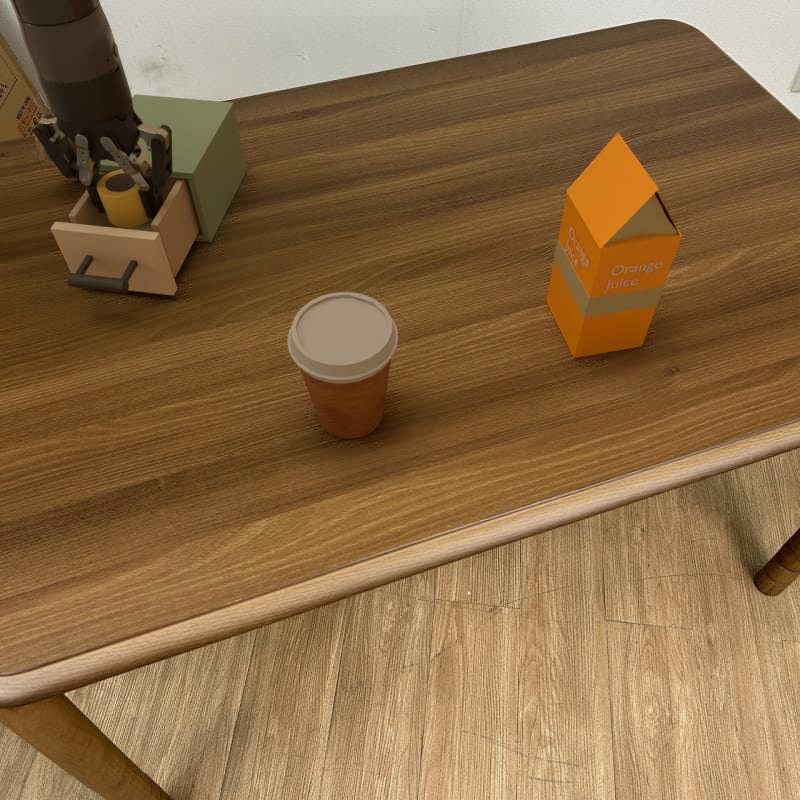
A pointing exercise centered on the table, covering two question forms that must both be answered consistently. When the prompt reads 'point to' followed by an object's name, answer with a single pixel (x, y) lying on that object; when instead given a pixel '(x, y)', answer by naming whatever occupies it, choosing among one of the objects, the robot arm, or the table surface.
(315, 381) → the disposable coffee cup
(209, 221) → the cabinet
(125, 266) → the drawer
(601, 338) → the orange juice
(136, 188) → the tape
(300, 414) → the table surface
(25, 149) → the table surface
